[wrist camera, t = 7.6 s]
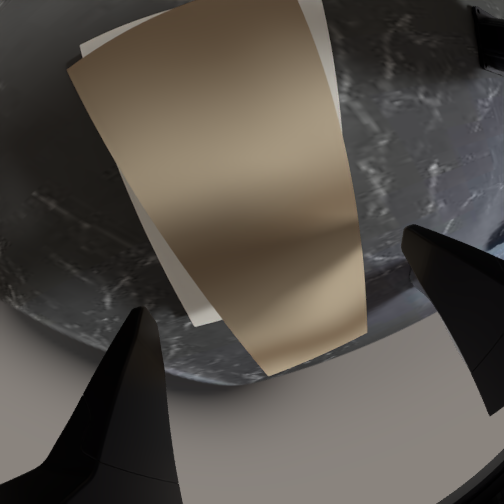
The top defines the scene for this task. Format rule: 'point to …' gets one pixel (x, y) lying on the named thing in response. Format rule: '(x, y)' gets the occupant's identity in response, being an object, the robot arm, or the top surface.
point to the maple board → (239, 167)
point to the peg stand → (176, 273)
